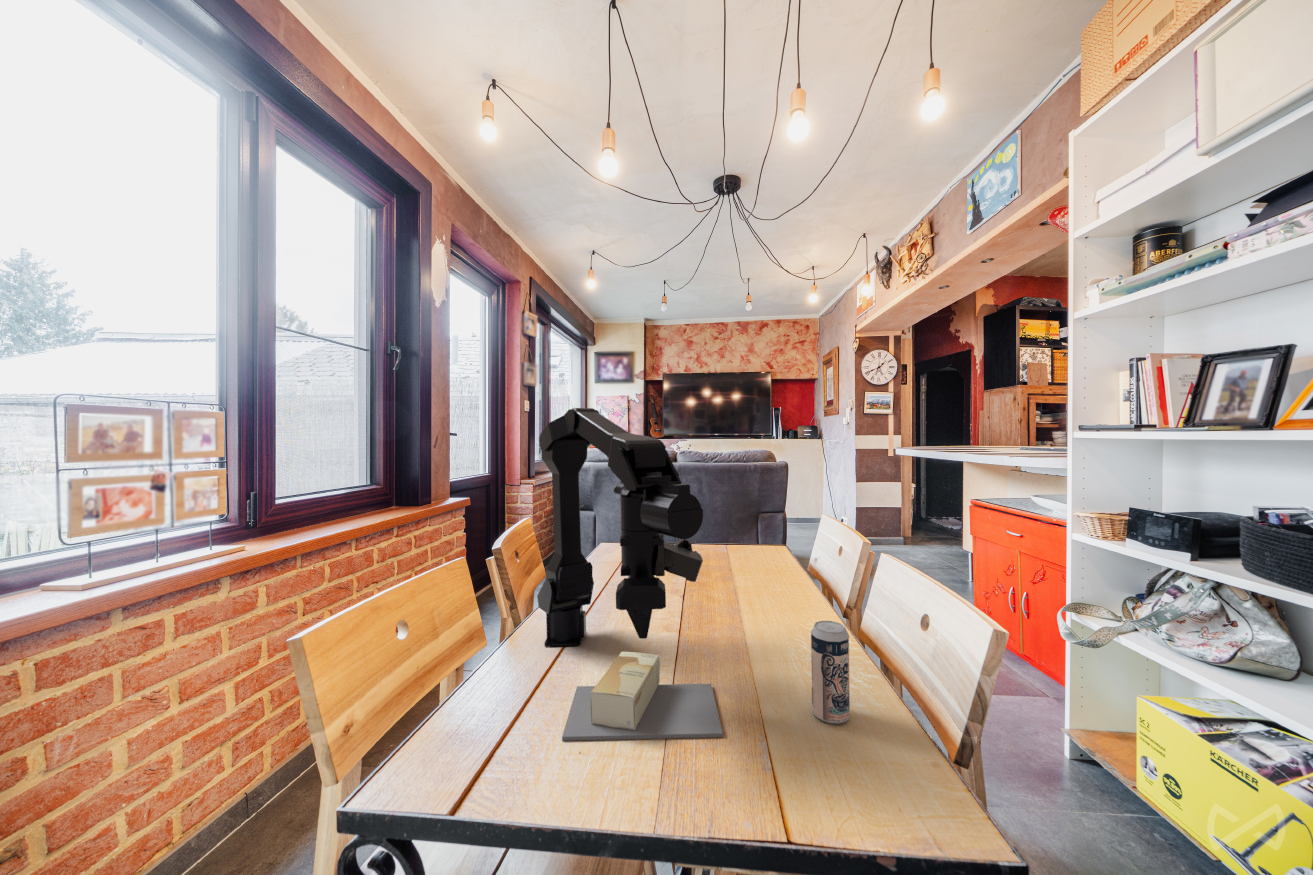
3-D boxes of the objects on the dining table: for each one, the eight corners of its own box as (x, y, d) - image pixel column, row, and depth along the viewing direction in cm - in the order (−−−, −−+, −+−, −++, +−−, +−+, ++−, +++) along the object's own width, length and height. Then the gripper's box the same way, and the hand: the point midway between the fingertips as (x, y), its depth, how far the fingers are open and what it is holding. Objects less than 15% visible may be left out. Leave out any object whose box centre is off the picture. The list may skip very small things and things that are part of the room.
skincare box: (659, 654, 73) (637, 697, 61) (660, 682, 73) (637, 731, 61) (619, 650, 74) (589, 691, 62) (619, 678, 74) (589, 725, 62)
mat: (562, 740, 60) (562, 736, 60) (577, 689, 72) (577, 686, 72) (722, 737, 60) (722, 733, 60) (711, 686, 72) (711, 683, 72)
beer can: (832, 730, 61) (830, 636, 61) (804, 711, 65) (803, 623, 65) (858, 720, 63) (857, 628, 63) (829, 702, 68) (828, 616, 67)
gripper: (705, 540, 59) (707, 667, 59) (692, 515, 78) (694, 612, 78) (614, 542, 59) (616, 670, 59) (623, 516, 78) (624, 613, 78)
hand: (643, 637), depth 68 cm, fingers closed
